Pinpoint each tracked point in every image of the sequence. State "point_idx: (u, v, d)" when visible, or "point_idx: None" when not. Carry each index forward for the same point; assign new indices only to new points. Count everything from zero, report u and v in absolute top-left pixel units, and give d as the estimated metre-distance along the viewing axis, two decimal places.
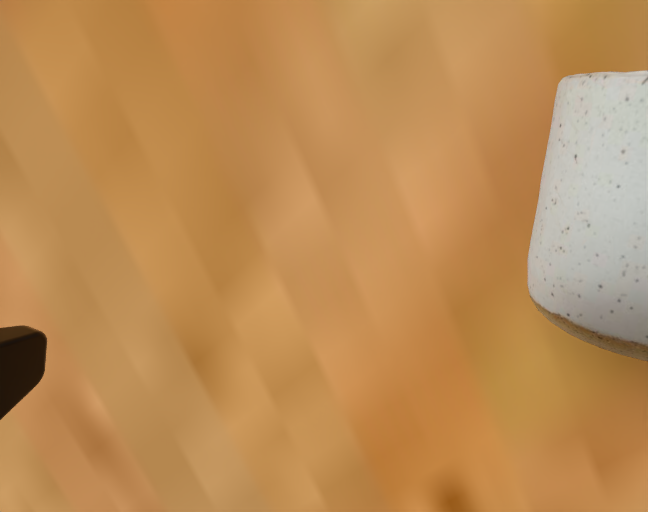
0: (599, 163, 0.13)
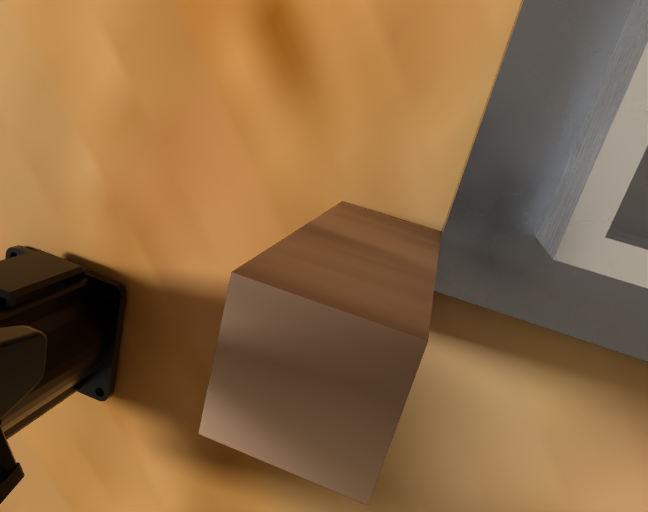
0: None
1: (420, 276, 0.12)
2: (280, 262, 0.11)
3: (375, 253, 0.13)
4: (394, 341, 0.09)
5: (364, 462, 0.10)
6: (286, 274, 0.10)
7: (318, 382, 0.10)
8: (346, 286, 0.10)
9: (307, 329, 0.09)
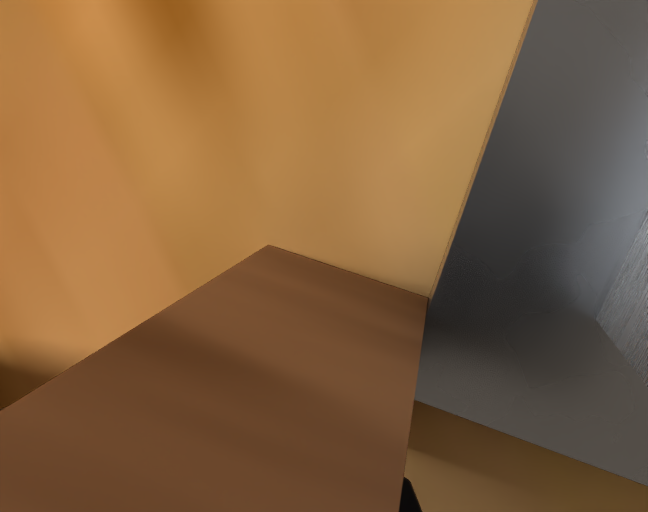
0: None
1: (363, 484, 0.05)
2: None
3: (272, 403, 0.06)
4: None
5: None
6: None
7: None
8: None
9: None
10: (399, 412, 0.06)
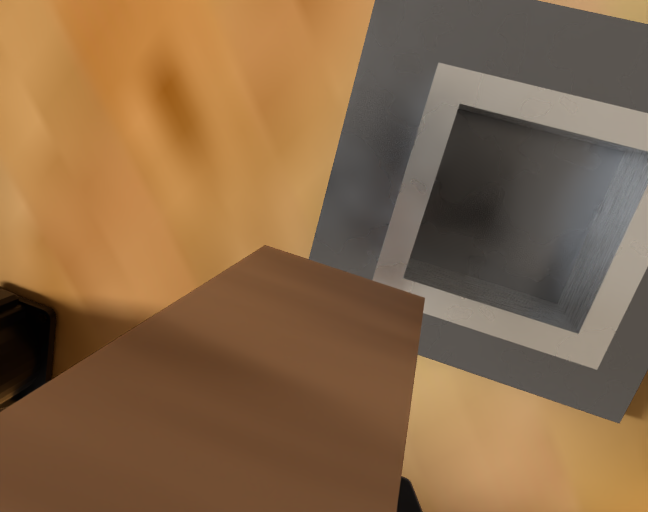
0: None
1: (362, 485, 0.05)
2: None
3: (269, 404, 0.06)
4: None
5: None
6: None
7: None
8: None
9: None
10: (396, 412, 0.06)
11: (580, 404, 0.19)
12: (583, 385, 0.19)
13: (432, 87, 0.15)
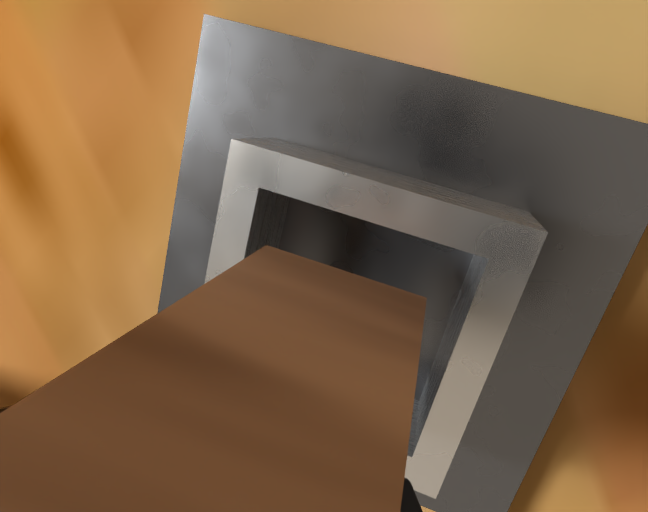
0: None
1: (365, 486, 0.05)
2: None
3: (271, 404, 0.06)
4: None
5: None
6: None
7: None
8: None
9: None
10: (399, 413, 0.06)
11: None
12: (454, 491, 0.16)
13: (228, 167, 0.12)
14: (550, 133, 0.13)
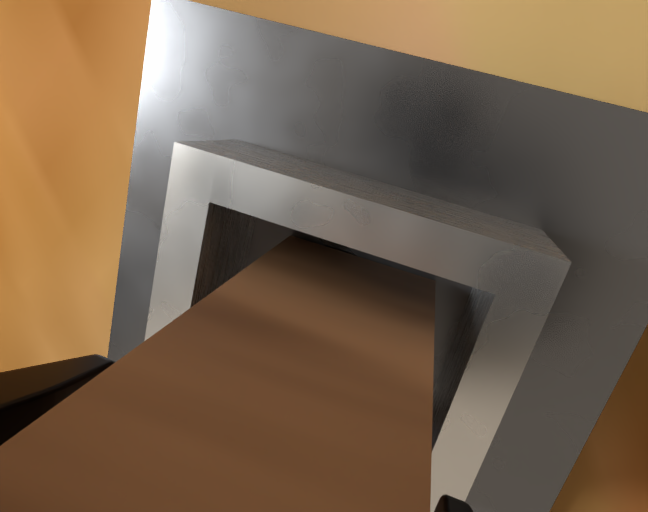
0: None
1: (403, 417, 0.06)
2: (77, 445, 0.05)
3: (321, 359, 0.07)
4: None
5: None
6: (66, 499, 0.04)
7: None
8: (225, 511, 0.04)
9: None
10: (423, 368, 0.08)
11: None
12: None
13: (171, 176, 0.10)
14: (569, 135, 0.11)
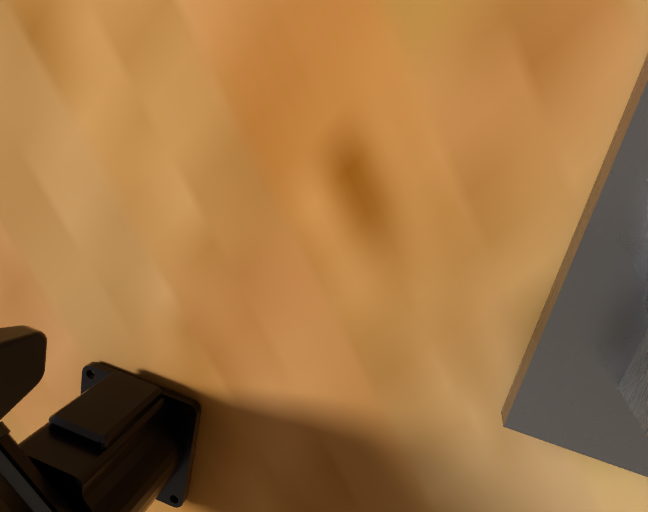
0: None
1: None
2: None
3: None
4: None
5: None
6: None
7: None
8: None
9: None
10: None
11: None
12: None
13: None
14: None
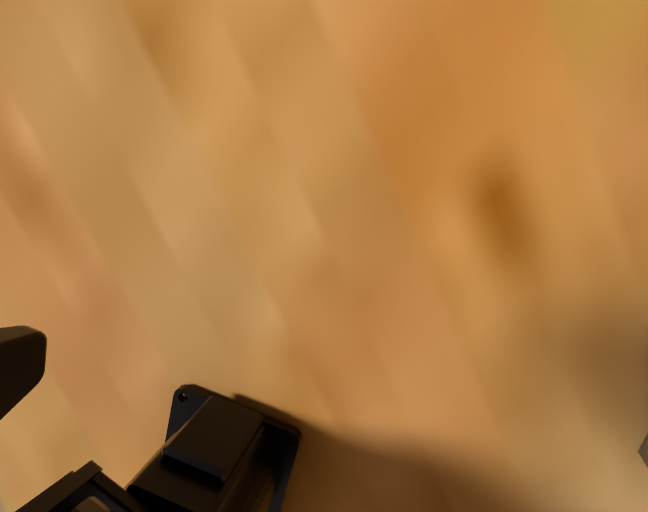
0: None
1: None
2: None
3: None
4: None
5: None
6: None
7: None
8: None
9: None
10: None
11: None
12: None
13: None
14: None
